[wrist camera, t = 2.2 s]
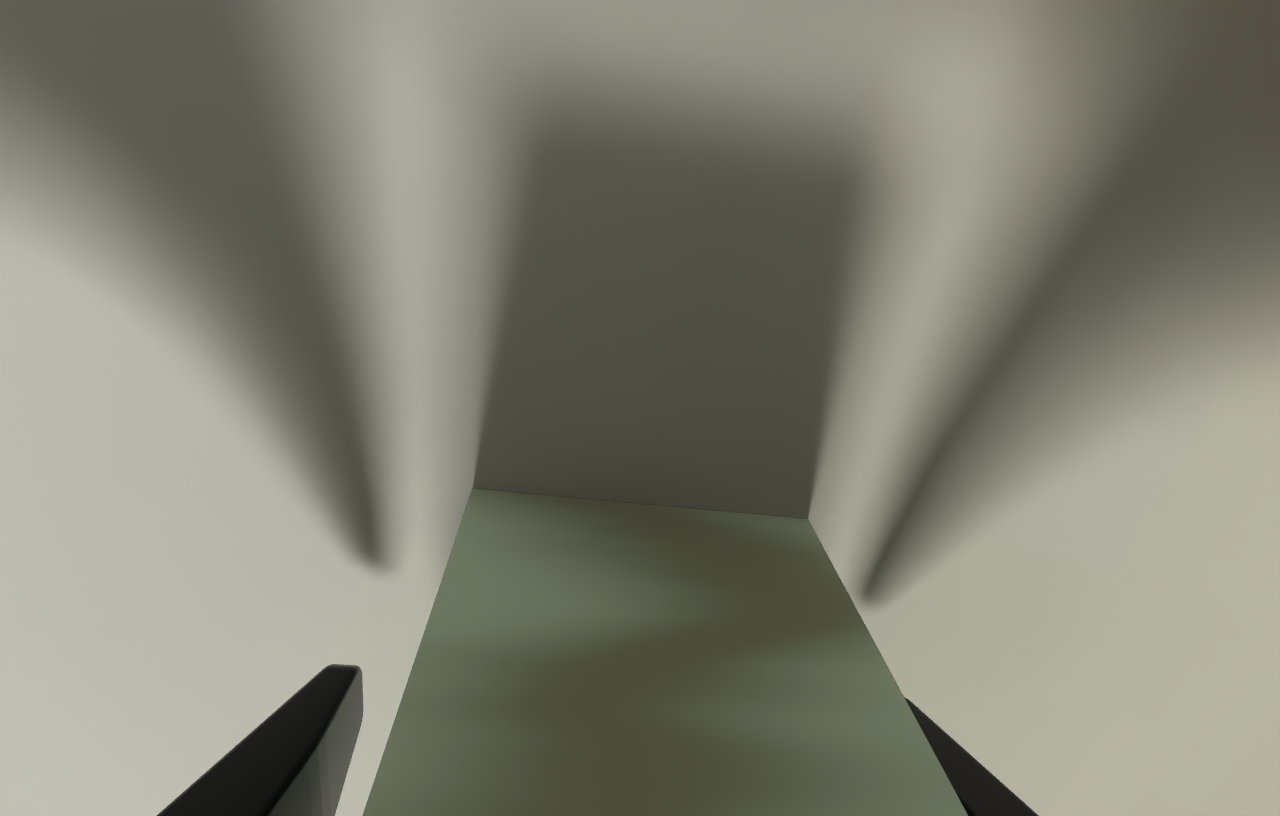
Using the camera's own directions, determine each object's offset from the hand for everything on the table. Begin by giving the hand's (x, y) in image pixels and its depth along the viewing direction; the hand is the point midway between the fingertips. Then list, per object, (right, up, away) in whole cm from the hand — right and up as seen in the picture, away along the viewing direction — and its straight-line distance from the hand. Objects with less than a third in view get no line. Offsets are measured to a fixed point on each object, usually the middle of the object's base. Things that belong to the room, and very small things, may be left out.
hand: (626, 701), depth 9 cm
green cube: (0, +1, +1) cm, 1 cm away
